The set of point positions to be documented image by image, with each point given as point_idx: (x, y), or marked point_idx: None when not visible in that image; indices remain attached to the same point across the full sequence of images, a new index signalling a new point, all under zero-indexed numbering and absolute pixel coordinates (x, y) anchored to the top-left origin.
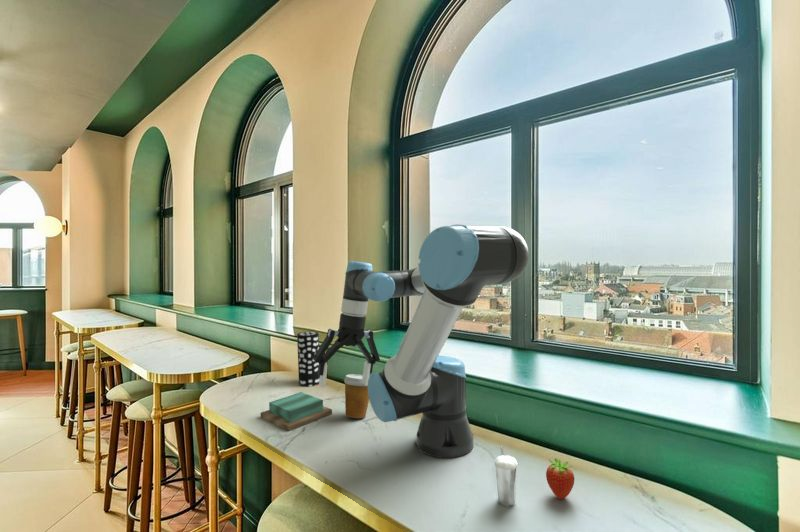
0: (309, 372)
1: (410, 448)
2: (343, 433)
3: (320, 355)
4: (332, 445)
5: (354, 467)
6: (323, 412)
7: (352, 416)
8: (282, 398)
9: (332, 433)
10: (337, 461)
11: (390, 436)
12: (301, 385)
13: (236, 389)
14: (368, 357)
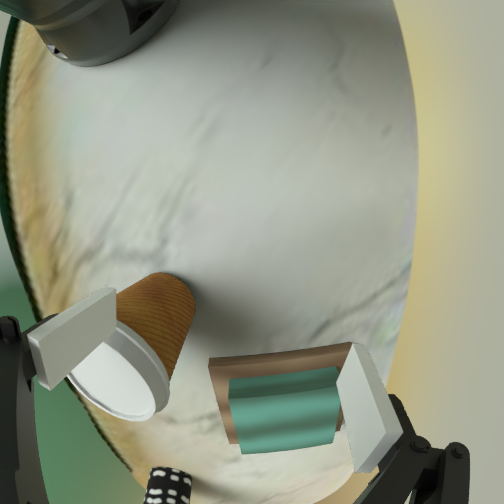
0: (173, 492)
1: (182, 27)
2: (260, 231)
3: (459, 481)
4: (329, 190)
5: (352, 57)
6: (238, 365)
7: (186, 289)
8: (298, 447)
9: (283, 255)
10: (367, 109)
11: (168, 112)
12: (190, 477)
13: (285, 500)
14: (12, 371)
